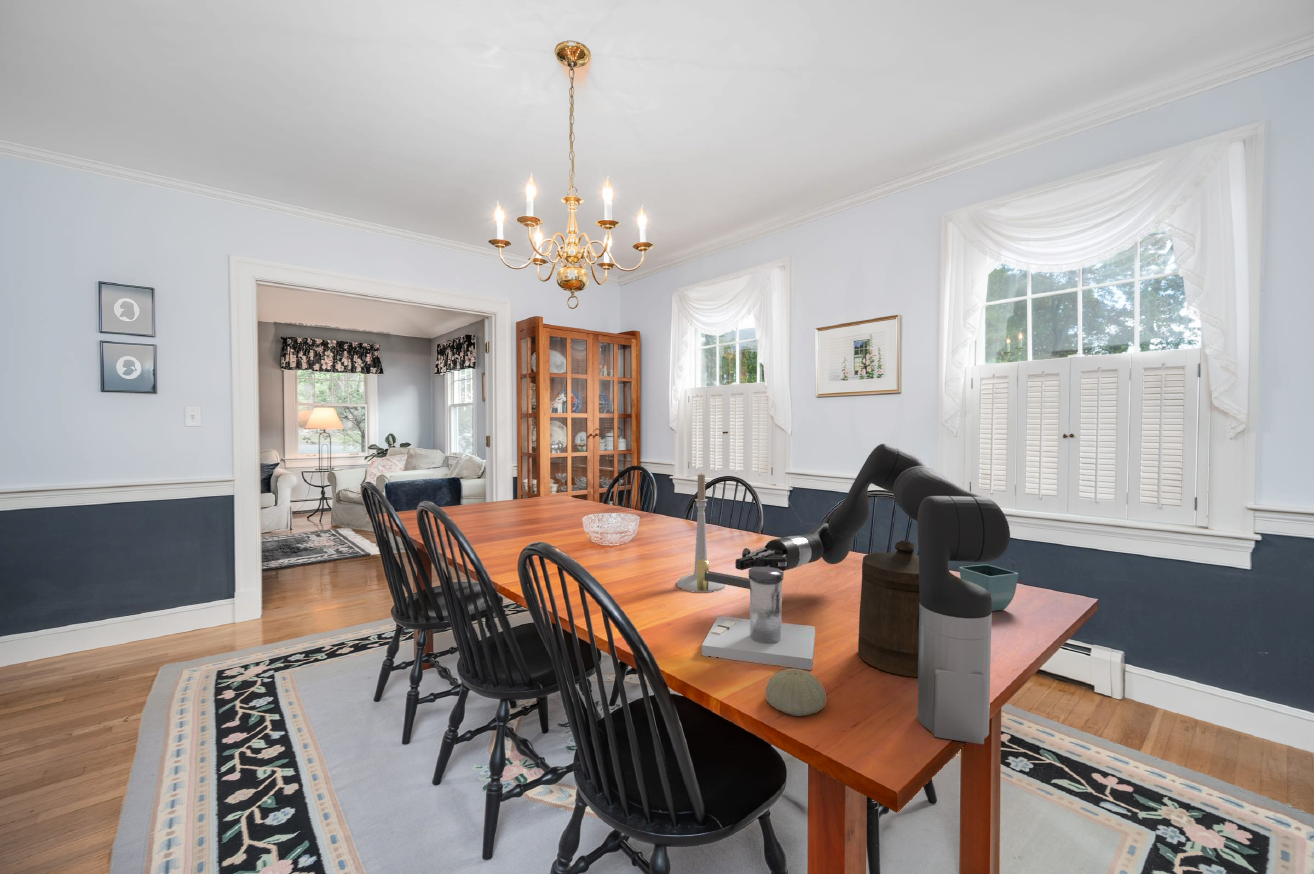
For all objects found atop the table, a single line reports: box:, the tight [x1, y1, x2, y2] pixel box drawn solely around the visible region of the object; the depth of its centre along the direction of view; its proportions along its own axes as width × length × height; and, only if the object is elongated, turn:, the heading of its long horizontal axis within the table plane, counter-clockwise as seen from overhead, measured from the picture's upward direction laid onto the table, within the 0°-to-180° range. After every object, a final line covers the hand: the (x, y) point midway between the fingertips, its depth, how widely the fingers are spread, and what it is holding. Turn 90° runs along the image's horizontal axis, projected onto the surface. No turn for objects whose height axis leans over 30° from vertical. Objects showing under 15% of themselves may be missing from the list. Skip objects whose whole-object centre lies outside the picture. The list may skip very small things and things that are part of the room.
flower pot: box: [958, 563, 1019, 612], centre depth 131 cm, size 9×9×9 cm
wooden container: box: [857, 539, 950, 678], centre depth 103 cm, size 15×15×22 cm
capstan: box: [697, 559, 785, 642], centre depth 111 cm, size 18×7×13 cm, turn 55°
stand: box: [701, 615, 816, 671], centre depth 109 cm, size 16×20×2 cm
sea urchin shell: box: [765, 668, 827, 718], centre depth 87 cm, size 9×8×8 cm
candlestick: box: [676, 473, 726, 593], centre depth 148 cm, size 13×13×30 cm
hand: (738, 564), depth 123 cm, fingers closed
